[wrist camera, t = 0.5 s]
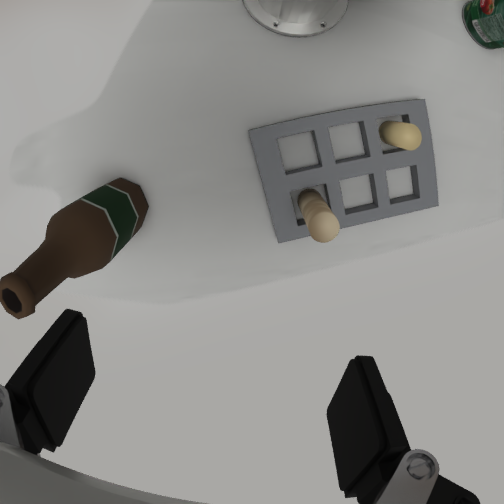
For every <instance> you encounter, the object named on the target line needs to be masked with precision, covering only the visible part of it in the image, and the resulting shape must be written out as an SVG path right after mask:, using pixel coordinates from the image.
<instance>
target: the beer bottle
mask: <svg viewBox="0 0 504 504" xmlns="http://www.w3.org/2000/svg"><path fill="white" fill-rule="evenodd" d="M148 207H149V206H148V204H147V202H146V200H145V197H144V195H143V193H142V190H141V188H140V186H138V185H136V184H134V183H131V182H129V181H127V180H124V179H122V178H119V179H116V180H114V181H112V182H110V183H108V184H106V185H104V186H102V187H100V188H98V189H96V190H94V191H92V192H90V193H88V194H87V195H85V196H83V197H81V198H80V199H78V200H76V201H74V202H73V203H71V204H69V205H68V206H66V207H64V208H63V209H61V210H60V211H58V212H57V213H56V214H54V215H53V216H52V217H51V219H50V221H49V223H48V225H47V230H46V237H45V240H44V242H43V243H42V244H41V245H40V247H39V248H38V249H37V250H36V251H35V252H34V253H33V254H31V255H30V256H29V257H28V258H27V259H26V260H25V261H24V262H23V263H22V264H21V265H20V266H19V267H18V268H17V269H16V270H15V271H14V272H13V273H12V272H11V273H9V274H7V275H5V276H3V277H2V278H1V280H0V302H1V304H2V305H3V307H4V308H5V310H6V312H8V313H9V314H11V315H13V316H14V317H15V318H17V319H20V318H24V317H27V316H29V315H31V314H33V313H34V312H35V306H36V305H37V304H38V303H39V302H40V301H41V300H42V299H43V298H44V297H46V296H47V295H48V294H49V293H50V292H51V291H52V290H54V289H55V288H56V287H57V286H58V285H59V284H60V283H62V282H63V281H64V280H65V279H66V278H68V277H70V278H77V277H81V276H84V275H86V274H89V273H91V272H94V271H97V270H99V269H102V268H103V267H105V266H106V265H107V264H108V263H109V262H110V261H111V260H112V259H113V258H114V257H115V256H116V255H117V253H118V252H119V251H120V250H121V249H122V248H123V247H124V246H125V245H126V244H127V242H128V241H129V240H130V239H131V238H132V237H133V236H134V235H135V234H136V233H137V232H138V230H139V229H140V228H141V226H142V224H143V221H144V218H145V215H146V212H147V210H148Z"/></svg>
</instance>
